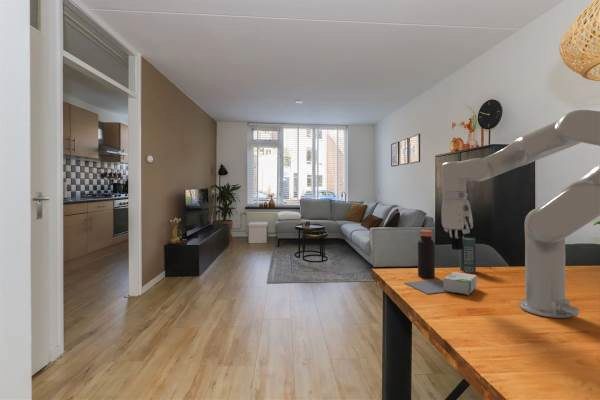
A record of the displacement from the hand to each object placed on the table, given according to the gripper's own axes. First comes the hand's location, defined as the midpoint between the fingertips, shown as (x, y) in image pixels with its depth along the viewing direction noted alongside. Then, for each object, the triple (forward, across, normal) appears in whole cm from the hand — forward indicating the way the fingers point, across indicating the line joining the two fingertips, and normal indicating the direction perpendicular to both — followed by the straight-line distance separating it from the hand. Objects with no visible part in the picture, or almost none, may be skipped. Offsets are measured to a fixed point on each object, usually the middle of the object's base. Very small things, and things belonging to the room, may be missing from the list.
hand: (457, 249), depth 106 cm
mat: (+16, +12, +1) cm, 20 cm away
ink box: (+14, +2, 0) cm, 14 cm away
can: (+17, +27, -30) cm, 44 cm away
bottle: (+16, +25, -6) cm, 31 cm away
